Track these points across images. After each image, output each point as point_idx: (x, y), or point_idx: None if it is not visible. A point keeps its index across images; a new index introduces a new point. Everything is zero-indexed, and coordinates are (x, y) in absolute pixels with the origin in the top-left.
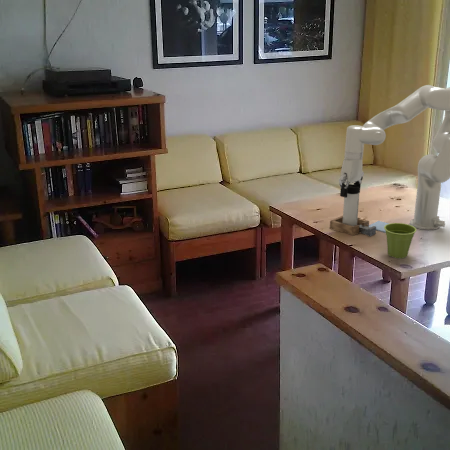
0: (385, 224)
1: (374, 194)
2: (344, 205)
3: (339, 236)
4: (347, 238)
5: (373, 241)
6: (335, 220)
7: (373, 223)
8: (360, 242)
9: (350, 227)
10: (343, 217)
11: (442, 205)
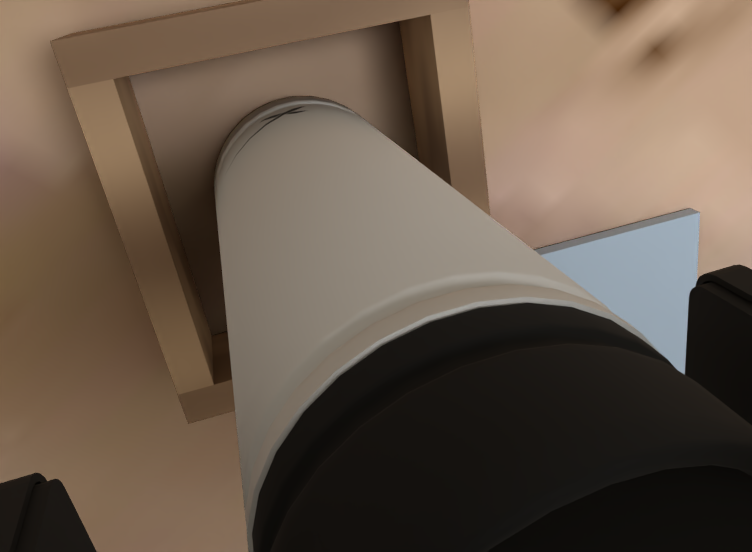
0: (650, 325)
1: None
2: (234, 286)
3: (12, 317)
4: (63, 401)
5: (246, 547)
6: (153, 69)
7: (598, 244)
8: (117, 525)
9: (170, 369)
10: (224, 197)
11: None
